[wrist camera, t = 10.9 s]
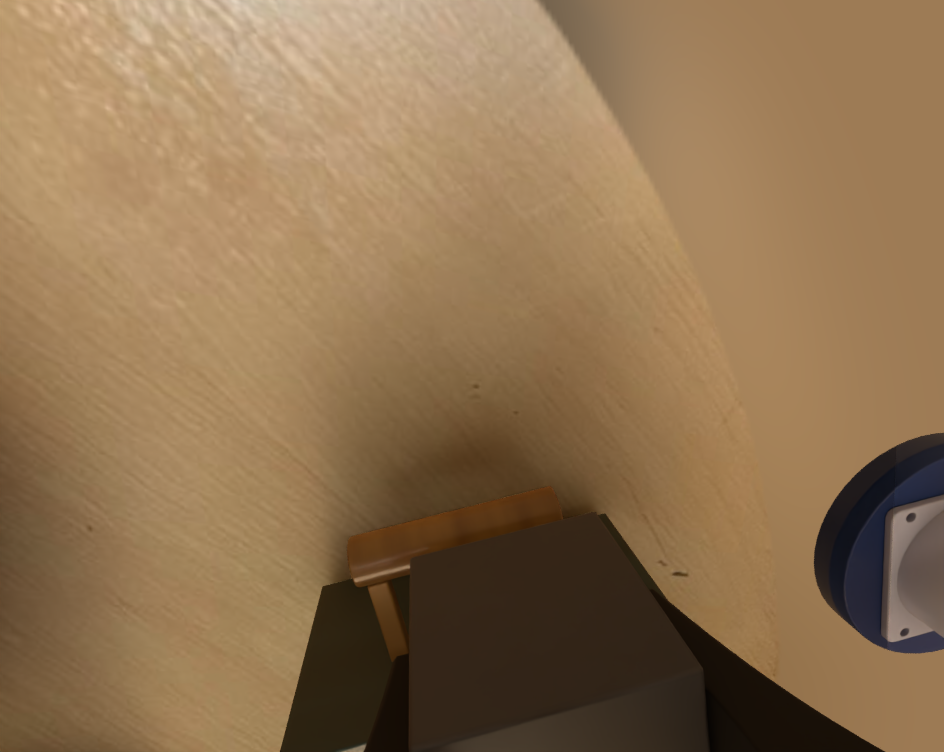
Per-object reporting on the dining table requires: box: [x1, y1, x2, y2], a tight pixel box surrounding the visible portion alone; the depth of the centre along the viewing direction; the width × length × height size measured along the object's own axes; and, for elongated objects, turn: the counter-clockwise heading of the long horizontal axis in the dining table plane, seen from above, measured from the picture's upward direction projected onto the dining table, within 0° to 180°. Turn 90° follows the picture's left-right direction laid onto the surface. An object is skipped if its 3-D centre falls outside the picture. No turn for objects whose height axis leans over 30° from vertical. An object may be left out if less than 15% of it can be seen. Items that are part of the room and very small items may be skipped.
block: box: [409, 512, 711, 752], centre depth 10 cm, size 4×4×4 cm
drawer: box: [280, 486, 666, 752], centre depth 17 cm, size 18×11×7 cm, turn 12°
